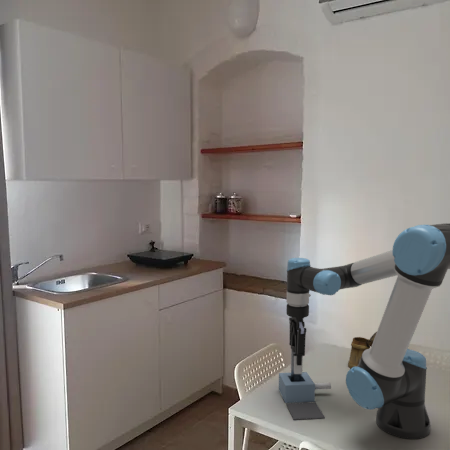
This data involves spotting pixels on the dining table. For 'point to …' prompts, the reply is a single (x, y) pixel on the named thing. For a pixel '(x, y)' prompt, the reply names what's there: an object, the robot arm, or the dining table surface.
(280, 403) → the dining table surface
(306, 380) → the block
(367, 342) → the wooden mug
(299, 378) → the bottle
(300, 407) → the mat
